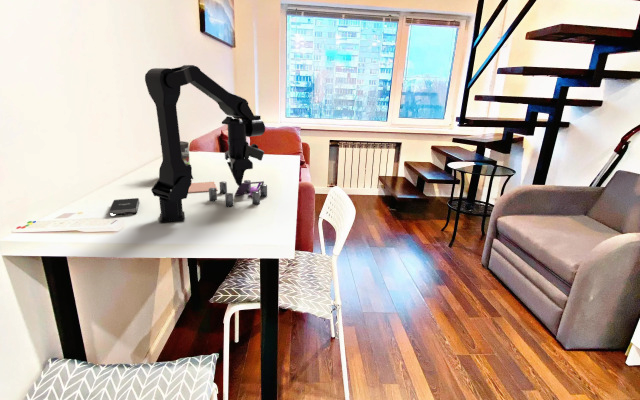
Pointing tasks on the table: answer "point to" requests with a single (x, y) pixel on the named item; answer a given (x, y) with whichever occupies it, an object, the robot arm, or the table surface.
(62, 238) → the table surface
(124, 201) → the external hard drive
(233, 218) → the table surface
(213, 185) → the mat
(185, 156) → the coffee can
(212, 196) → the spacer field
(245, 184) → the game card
